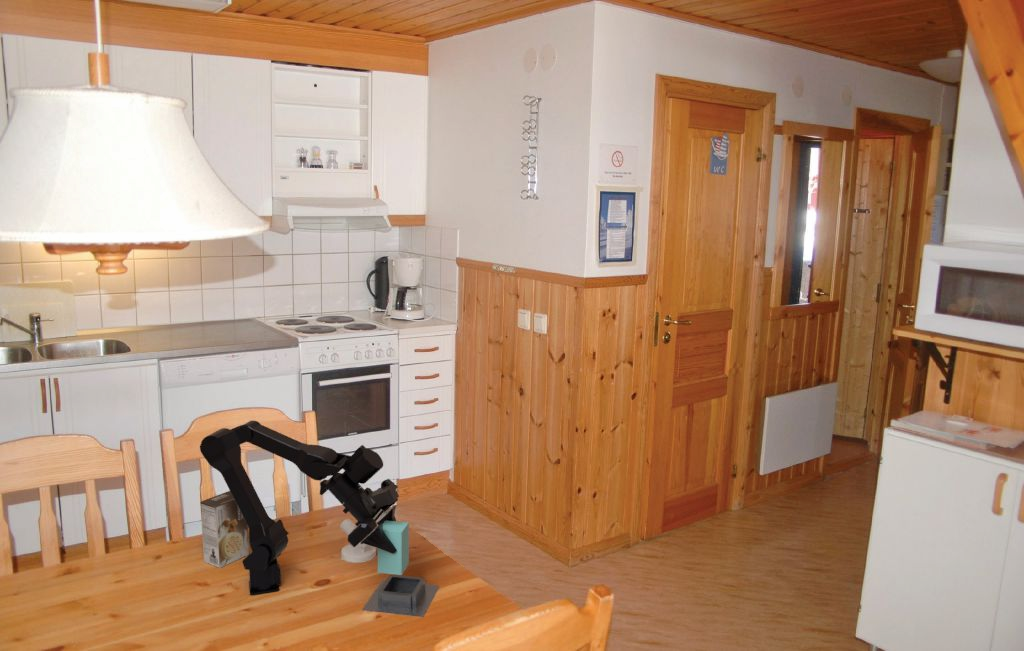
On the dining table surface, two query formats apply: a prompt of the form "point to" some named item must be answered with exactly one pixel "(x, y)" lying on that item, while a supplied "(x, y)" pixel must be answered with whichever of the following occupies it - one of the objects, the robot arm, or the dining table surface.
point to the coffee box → (223, 530)
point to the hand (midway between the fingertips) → (399, 546)
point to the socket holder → (402, 596)
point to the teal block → (400, 540)
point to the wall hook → (358, 552)
